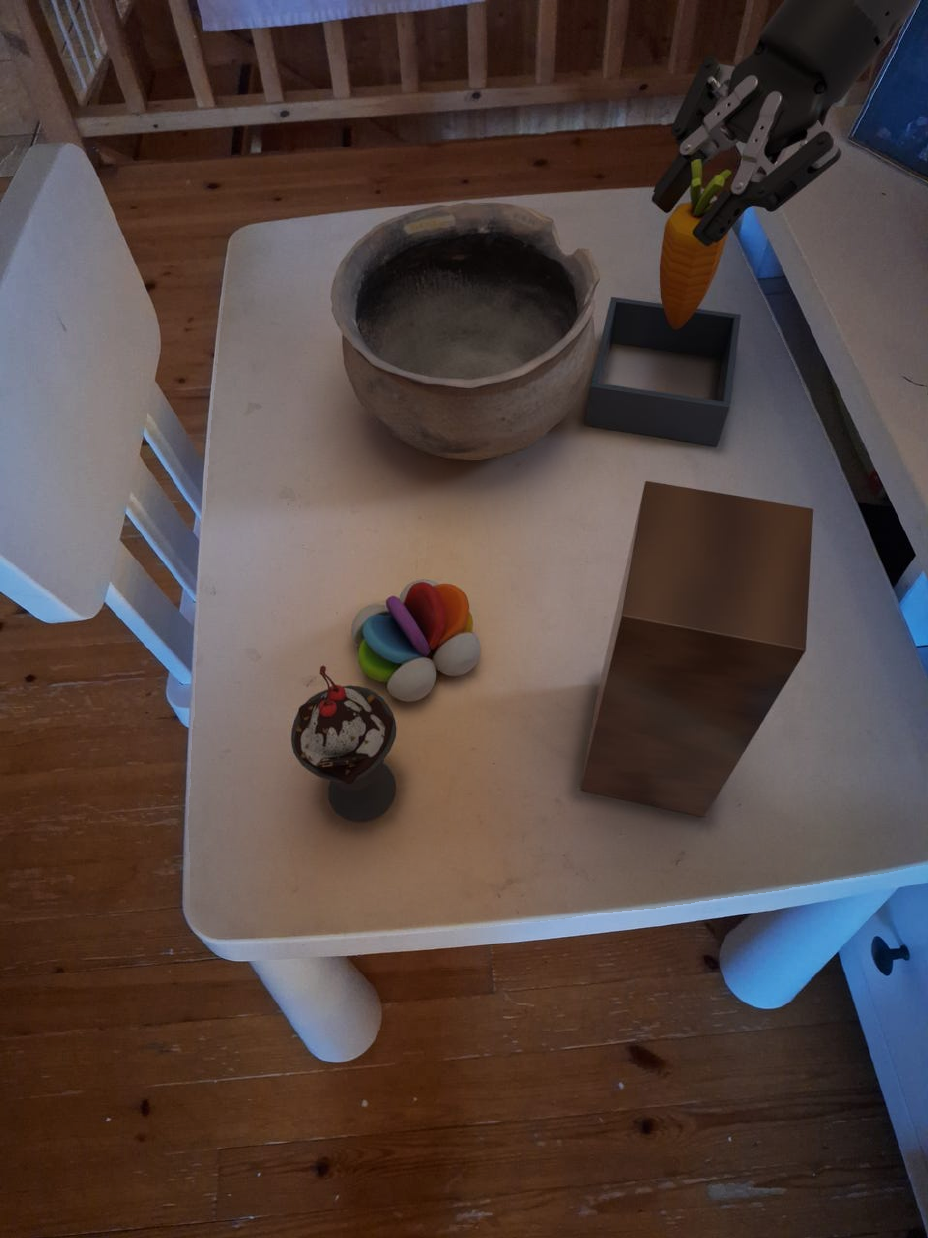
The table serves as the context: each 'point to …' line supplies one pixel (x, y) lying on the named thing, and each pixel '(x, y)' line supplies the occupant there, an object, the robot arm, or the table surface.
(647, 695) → the block
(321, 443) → the table surface
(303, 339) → the table surface
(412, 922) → the table surface
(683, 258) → the carrot
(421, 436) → the ceramic bowl
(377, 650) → the rainbow cloud toy
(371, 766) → the sundae
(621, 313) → the square storage tray
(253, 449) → the table surface
